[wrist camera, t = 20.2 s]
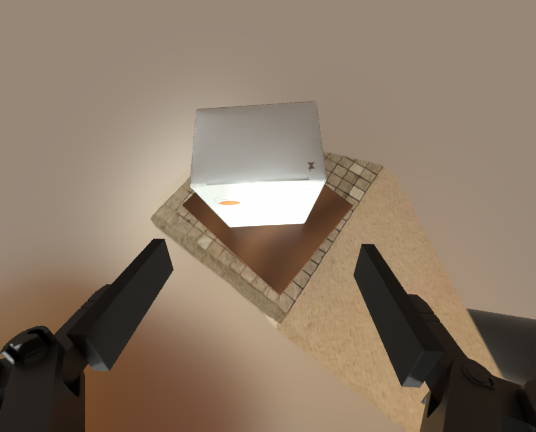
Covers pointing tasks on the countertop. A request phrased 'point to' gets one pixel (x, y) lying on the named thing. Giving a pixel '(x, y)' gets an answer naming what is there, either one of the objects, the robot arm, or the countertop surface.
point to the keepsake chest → (276, 238)
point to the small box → (258, 162)
